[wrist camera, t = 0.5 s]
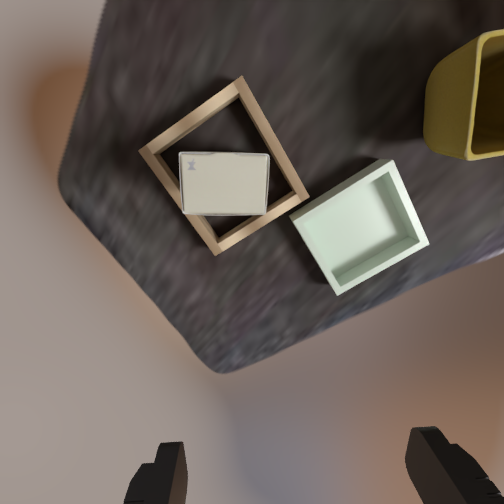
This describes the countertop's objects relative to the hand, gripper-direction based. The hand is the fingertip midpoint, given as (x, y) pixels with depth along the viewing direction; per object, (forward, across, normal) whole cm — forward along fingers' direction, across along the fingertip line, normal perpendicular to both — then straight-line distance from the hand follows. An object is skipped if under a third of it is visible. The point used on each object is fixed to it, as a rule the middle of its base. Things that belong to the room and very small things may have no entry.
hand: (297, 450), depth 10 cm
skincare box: (+25, +3, -8) cm, 27 cm away
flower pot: (+25, -20, -14) cm, 35 cm away
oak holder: (+25, +3, -8) cm, 27 cm away
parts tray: (+25, -12, -1) cm, 28 cm away
